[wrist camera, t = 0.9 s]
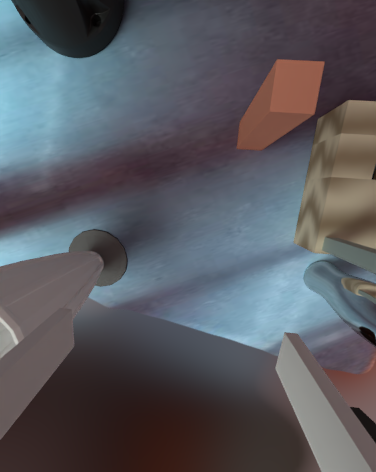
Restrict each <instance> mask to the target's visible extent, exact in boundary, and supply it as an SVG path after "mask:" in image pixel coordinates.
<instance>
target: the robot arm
mask: <svg viewBox="0 0 376 472" xmlns="http://www.w3.org/2000/svg"><path fill="white" fill-rule="evenodd" d="M11 1H12V2H13V4H14V5H15V7H16V9H17V11H18V12H19V14H20V16H21V17H22V19H23V20H24V21H25V23H26V24H27V25H28V27H29V28H30V29H31V30H32V31H33V32H34V33H35V34H36V35H37V36H38V37H39V38H40V39H41V40H42V41H43V42H44V43H45V44H46V45H47V46H48V47H50V48H51V49H52V50H54V51H56V52H57V53H59V54H62V55H64V56H68V57H73V58H83V57H88V56H91V55H94V54H96V53H97V52H99V51H101V50H102V49H103V48H104V47H106V46H107V45H108V44H109V42H110V41H111V40H112V38H113V37H114V35H115V34H116V32H117V30H118V27H119V25H120V22H121V18H122V14H123V8H124V0H11ZM73 347H74V335H73V319H72V309H65V308H59V309H58V310H57V311H56V312H54V313H53V314H52V315H51V316H50V317H49V318H47V319H46V320H45V321H44V322H43V323H42V324H40V325H39V326H38V327H37V328H36V329H35V330H33V331H32V332H31V333H30V334H29V335H28V336H26V337H25V338H24V339H23V340H22V341H20V342H19V343H18V344H17V345H16V346H15V347H13V348H12V349H11V350H10V351H9V352H8V353H6V354H5V355H4V356H3V357H2V358H1V359H0V440H1V438H2V437H3V436H4V434H5V433H6V432H7V431H8V429H9V428H10V427H11V426H12V424H13V423H14V422H15V421H16V419H17V418H18V417H19V415H20V414H21V413H22V412H23V410H24V409H25V408H26V407H27V405H28V404H29V403H30V402H31V400H32V399H33V398H34V396H35V395H36V394H37V393H38V391H39V390H40V389H41V388H42V386H43V385H44V384H45V382H46V381H47V380H48V379H49V377H50V376H51V375H52V374H53V372H54V371H55V370H56V368H57V367H58V366H59V365H60V363H61V362H62V361H63V360H64V358H65V357H66V356H67V355H68V353H69V352H70V351H71V349H72V348H73ZM276 371H277V373H278V376H279V377H280V380H281V382H282V384H283V387H284V389H285V391H286V393H287V396H288V398H289V400H290V402H291V404H292V407H293V409H294V411H295V413H296V416H297V418H298V420H299V422H300V424H301V427H302V429H303V431H304V433H305V436H306V438H307V440H308V442H309V445H310V447H311V449H312V451H313V453H314V456H315V458H316V460H317V462H318V465H319V467H320V469H321V471H322V472H376V424H375V423H374V422H373V421H372V420H371V419H370V418H369V417H368V416H367V415H366V414H365V413H363V411H362V410H360V409H359V408H354V407H349V406H348V404H347V403H346V401H345V400H344V398H343V397H342V396H341V394H340V393H339V391H338V390H337V389H336V387H335V386H334V384H333V383H332V382H331V380H330V379H329V377H328V376H327V375H326V373H325V372H324V370H323V369H322V368H321V366H320V365H319V363H318V362H317V361H316V359H315V358H314V356H313V355H312V354H311V352H310V351H309V349H308V348H307V347H306V345H305V344H304V342H303V341H302V340H301V338H300V337H299V335H298V334H295V333H286V332H285V333H284V337H283V341H282V345H281V349H280V353H279V357H278V361H277V365H276Z"/></svg>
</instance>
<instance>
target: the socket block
mask: <svg viewBox="0 0 376 472" xmlns="http://www.w3.org/2000/svg"><path fill="white" fill-rule="evenodd" d="M375 164H376V101H358V100H348V101H346V102H345V103H343V104H341V105H340V106H338V107H337V108H335V109H333V110H332V111H330V112H329V113H327V114H325V115H324V116H322V117H321V118H319V119H318V121H317V126H316V131H315V136H314V141H313V147H312V152H311V157H310V162H309V167H308V172H307V177H306V182H305V187H304V192H303V197H302V202H301V207H300V212H299V217H298V222H297V227H296V233H295V238H294V243H295V244H297V245H299V246H301V247H303V248H305V249H307V250H309V251H311V252H313V253H321V254H329V253H327V252H325V251H322V247H323V243H324V239H325V237H331V238H340V239H344V240H347V241H350V242H353V243H357V244H360V245H363V246H367V247H370V248H373V249H376V170H375V173H374V177H373V180H371V179H372V175H373V172H374V168H375Z"/></svg>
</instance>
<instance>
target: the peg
mask: <svg viewBox="0 0 376 472" xmlns="http://www.w3.org/2000/svg"><path fill="white" fill-rule="evenodd" d="M324 63H325V62H322V61H301V60H279V59H277V61H276V62H275V64H274V66H273V67H272V69H271V71H270V72H269V74H268V76H267V77H266V79H265V81H264V82H263V84H262V86H261V87H260V89H259V91H258V92H257V94H256V96H255V97H254V99H253V101H252V102H251V104H250V106H249V107H248V109H247V111H246V112H245V114H244V116H243V117H242V119H241V121H240V125H239V134H238V143H237V149H246V150H263V149H264V148H266V147H267V146H269V145H270V144H271V143H273V142H274V141H276V140H277V139H279V138H280V137H282V136H283V135H285V134H286V133H288V132H289V131H291V130H292V129H293V128H295V127H296V126H298V125H299V124H301V123H302V122H304V121H305V120H307V119H308V118H310V117H311V116H313V115H314V114H315V109H316V104H317V99H318V94H319V89H320V83H321V78H322V73H323V68H324Z"/></svg>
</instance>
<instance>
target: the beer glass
mask: <svg viewBox="0 0 376 472" xmlns="http://www.w3.org/2000/svg"><path fill="white" fill-rule="evenodd" d="M303 279H304V283H305V285H306V286H307V288H309V289H310V290H312V291H313V292H315V293H317V294H319V295H321V296H322V297H323V298H324V299H325V300H326V301H327V302H328V304H329V305H330V306H331V307H332V309H333V310H334V311H335V312H336V313H337V315H338V316H339V317H340V318H341V319H342V320H343V321H344V322H345V323H346V324H347V325H348V326H349V327H350V328H351V329H352V330H354V331H355V332H356V333H357V334H359V335H360V336H361V337H362V338H364V339H365V340H366V341H368V342H369V343H370V344H372V345H373V346H374V347H376V283H374V282H371V281H368V280H365V279H362V278H358V277H355V276H352V275H349V274H346V273H344V272H342V271H340V270H339V269H338V268H337V267H336V266H334V265H333V264H332V263H330V262H326V261H319V262H315V263H313V264H311V265H310V266H309V267H308V268H307V269H306V271H305V273H304V277H303Z"/></svg>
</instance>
